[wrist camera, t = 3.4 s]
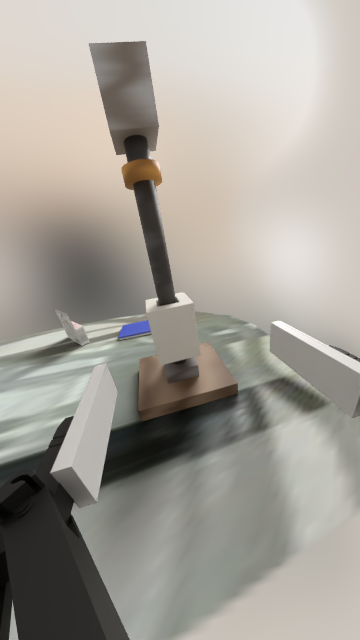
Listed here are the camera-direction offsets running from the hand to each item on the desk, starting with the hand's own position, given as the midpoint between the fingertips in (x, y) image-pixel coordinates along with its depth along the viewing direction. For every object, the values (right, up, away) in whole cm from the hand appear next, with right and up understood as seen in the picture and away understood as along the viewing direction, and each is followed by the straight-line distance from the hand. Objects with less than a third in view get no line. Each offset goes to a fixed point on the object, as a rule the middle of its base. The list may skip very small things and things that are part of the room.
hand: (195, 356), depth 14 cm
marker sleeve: (-2, -2, +14) cm, 14 cm away
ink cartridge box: (-31, -3, +38) cm, 49 cm away
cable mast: (-1, -7, +16) cm, 18 cm away
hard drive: (-12, -1, +38) cm, 40 cm away
